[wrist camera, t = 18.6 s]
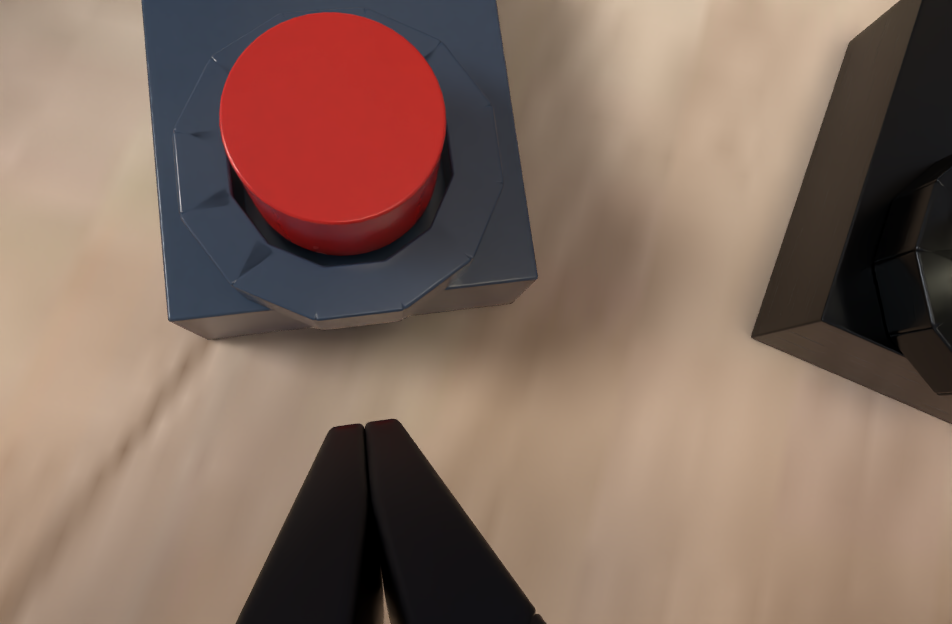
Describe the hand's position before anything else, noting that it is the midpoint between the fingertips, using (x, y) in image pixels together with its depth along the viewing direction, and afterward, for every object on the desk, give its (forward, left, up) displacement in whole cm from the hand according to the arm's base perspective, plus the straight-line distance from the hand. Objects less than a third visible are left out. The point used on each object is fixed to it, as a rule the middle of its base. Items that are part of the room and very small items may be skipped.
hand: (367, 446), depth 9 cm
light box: (+18, -6, -12) cm, 23 cm away
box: (+5, +8, -12) cm, 15 cm away
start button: (+3, +5, -7) cm, 10 cm away
